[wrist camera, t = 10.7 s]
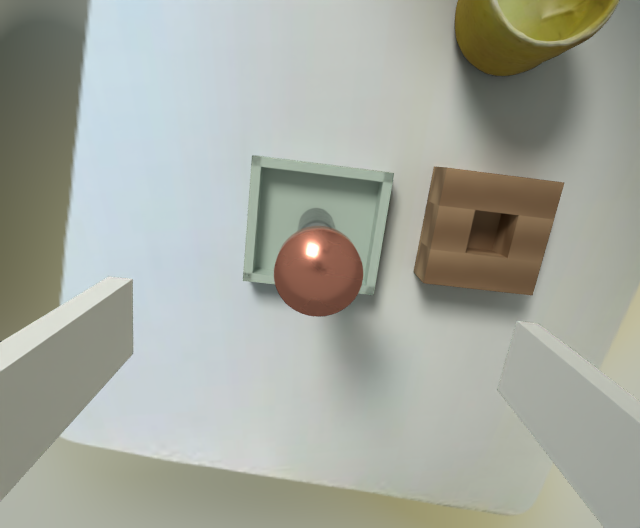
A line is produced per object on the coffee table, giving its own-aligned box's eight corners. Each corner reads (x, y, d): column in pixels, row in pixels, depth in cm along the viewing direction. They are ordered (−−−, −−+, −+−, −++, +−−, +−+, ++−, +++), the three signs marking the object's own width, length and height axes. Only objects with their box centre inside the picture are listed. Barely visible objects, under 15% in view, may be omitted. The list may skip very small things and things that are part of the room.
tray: (256, 155, 35) (252, 155, 32) (388, 172, 35) (393, 173, 33) (247, 273, 37) (242, 280, 35) (369, 286, 38) (373, 295, 36)
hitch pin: (287, 247, 36) (270, 311, 21) (292, 196, 35) (278, 225, 20) (338, 253, 37) (356, 320, 22) (345, 202, 35) (369, 236, 20)
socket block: (433, 166, 35) (446, 167, 32) (540, 180, 36) (564, 182, 32) (413, 271, 38) (423, 283, 34) (513, 283, 38) (532, 295, 35)
